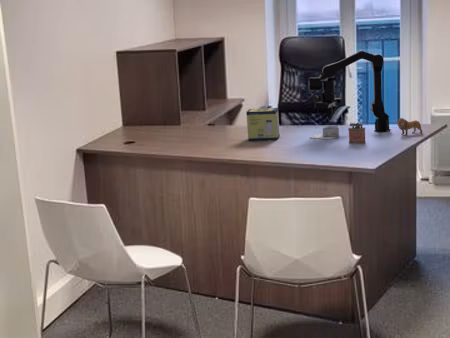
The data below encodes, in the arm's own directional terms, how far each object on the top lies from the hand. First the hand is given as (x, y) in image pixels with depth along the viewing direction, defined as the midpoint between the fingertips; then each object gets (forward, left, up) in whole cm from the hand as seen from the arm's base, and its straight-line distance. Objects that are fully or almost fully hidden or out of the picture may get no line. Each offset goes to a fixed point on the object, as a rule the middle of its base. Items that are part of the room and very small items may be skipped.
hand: (330, 119), depth 374 cm
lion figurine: (-39, -12, -8) cm, 42 cm away
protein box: (+26, +23, -8) cm, 36 cm away
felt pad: (-2, +9, -8) cm, 12 cm away
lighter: (-26, +16, -8) cm, 32 cm away
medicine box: (-1, +2, -5) cm, 6 cm away
